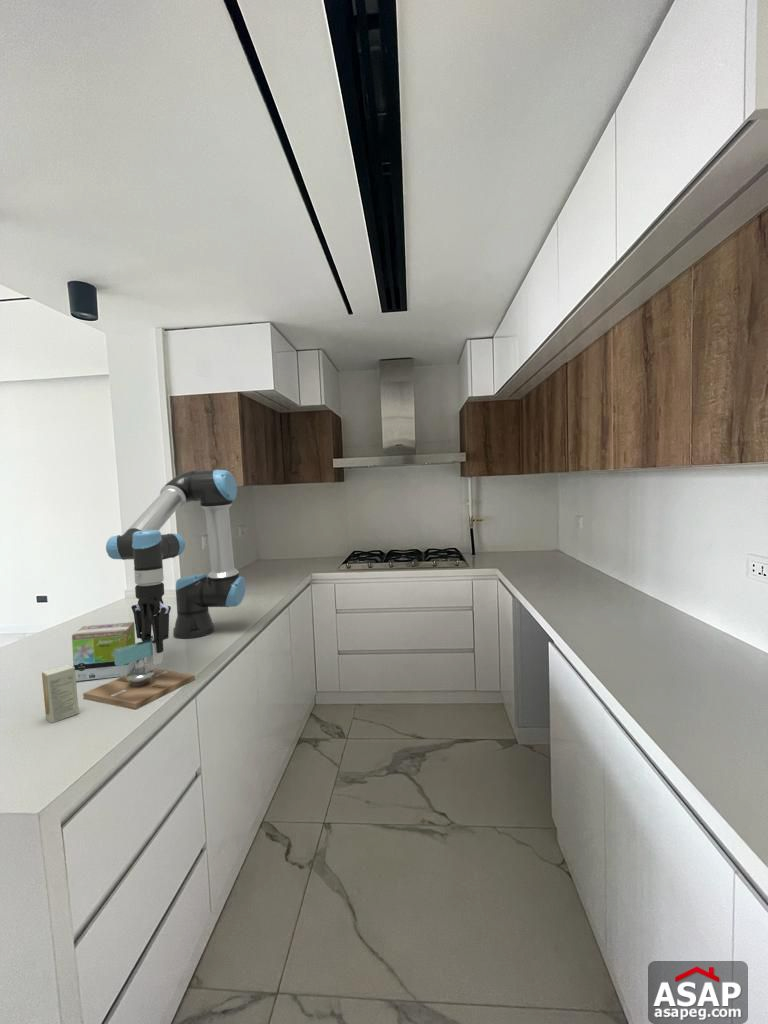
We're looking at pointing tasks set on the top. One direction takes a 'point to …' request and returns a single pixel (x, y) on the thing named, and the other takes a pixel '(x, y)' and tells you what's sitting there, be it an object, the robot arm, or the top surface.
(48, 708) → the skincare box
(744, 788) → the top surface
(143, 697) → the post base
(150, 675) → the teal lever handle
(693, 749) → the top surface
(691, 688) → the top surface
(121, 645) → the tea box
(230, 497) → the robot arm
